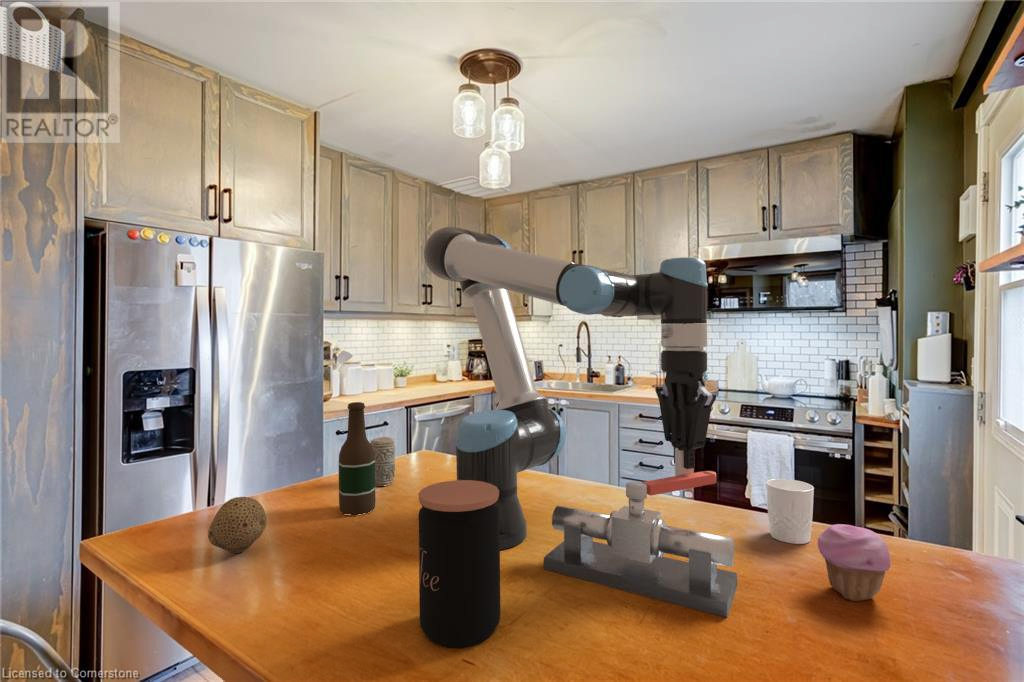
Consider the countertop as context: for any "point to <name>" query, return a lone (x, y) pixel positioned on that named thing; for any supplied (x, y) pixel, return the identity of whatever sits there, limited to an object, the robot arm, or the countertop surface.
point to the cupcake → (854, 560)
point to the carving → (384, 460)
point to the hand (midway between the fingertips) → (684, 485)
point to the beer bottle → (356, 466)
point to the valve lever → (669, 484)
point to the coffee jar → (459, 562)
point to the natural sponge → (237, 524)
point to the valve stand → (645, 556)
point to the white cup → (790, 510)
